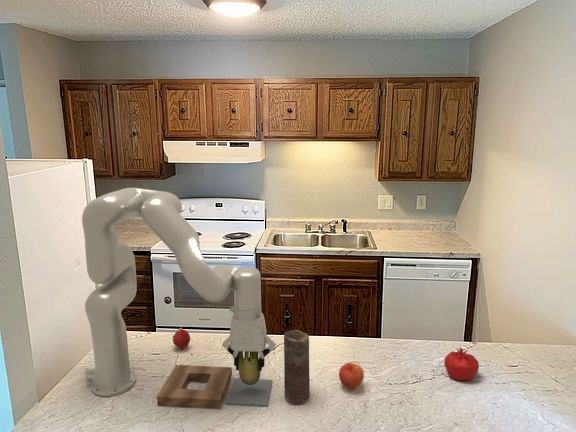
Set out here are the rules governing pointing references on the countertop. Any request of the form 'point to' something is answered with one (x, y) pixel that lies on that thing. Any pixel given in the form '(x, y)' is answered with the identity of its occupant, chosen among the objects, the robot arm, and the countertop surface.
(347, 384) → the apple
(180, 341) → the red ovoid
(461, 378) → the pomegranate
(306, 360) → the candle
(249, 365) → the fennel bulb
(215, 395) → the pocket holder
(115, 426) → the countertop surface
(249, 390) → the mat
